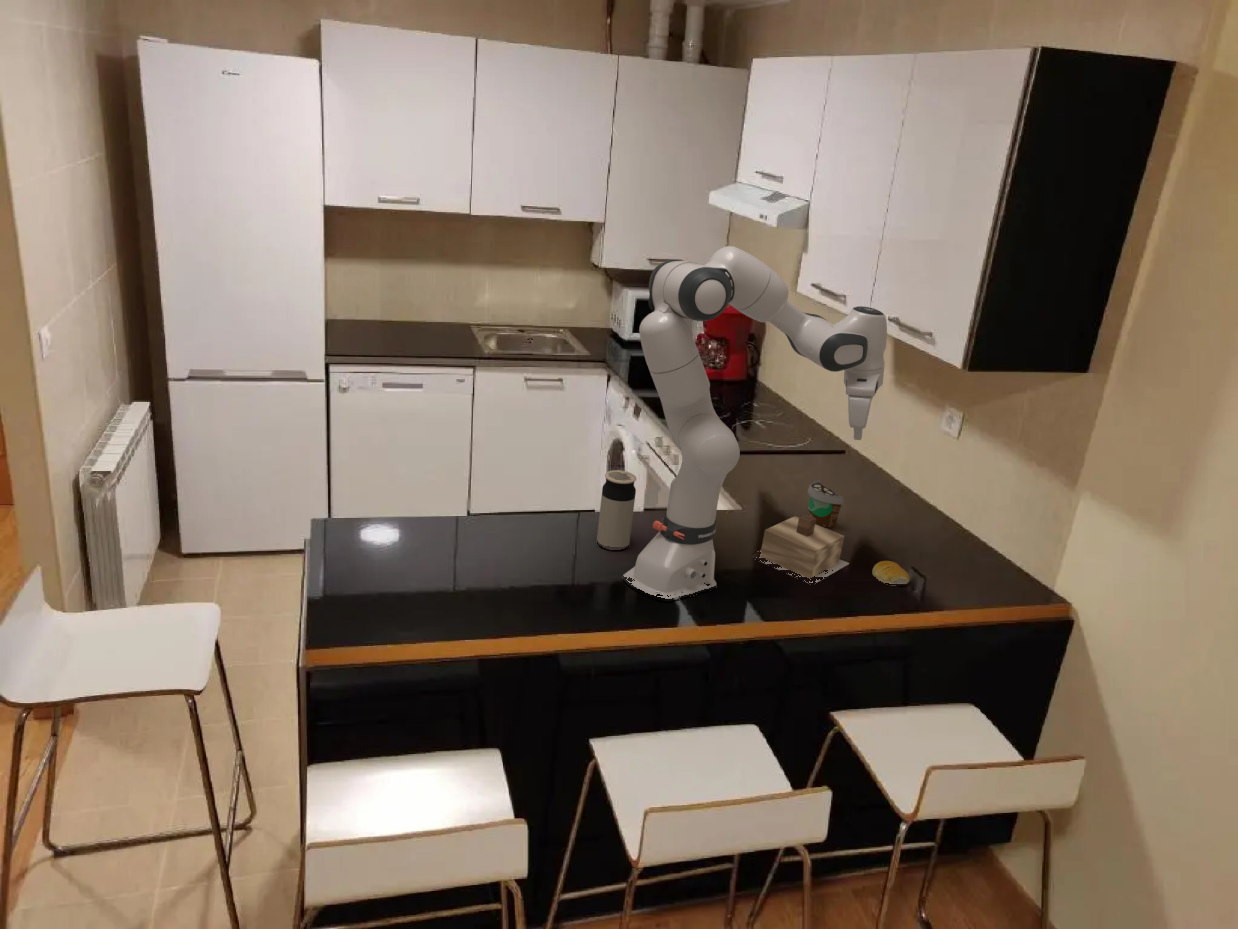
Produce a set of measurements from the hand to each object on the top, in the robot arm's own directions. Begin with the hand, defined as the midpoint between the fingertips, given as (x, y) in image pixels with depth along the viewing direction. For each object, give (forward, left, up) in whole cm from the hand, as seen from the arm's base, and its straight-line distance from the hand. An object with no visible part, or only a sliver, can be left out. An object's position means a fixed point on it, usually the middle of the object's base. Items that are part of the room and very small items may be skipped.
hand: (859, 430), depth 219 cm
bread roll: (+1, -15, -34) cm, 37 cm away
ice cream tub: (+15, +14, -34) cm, 40 cm away
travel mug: (-41, +38, -34) cm, 65 cm away
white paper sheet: (-10, +4, -34) cm, 35 cm away
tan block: (-10, +4, -33) cm, 35 cm away
